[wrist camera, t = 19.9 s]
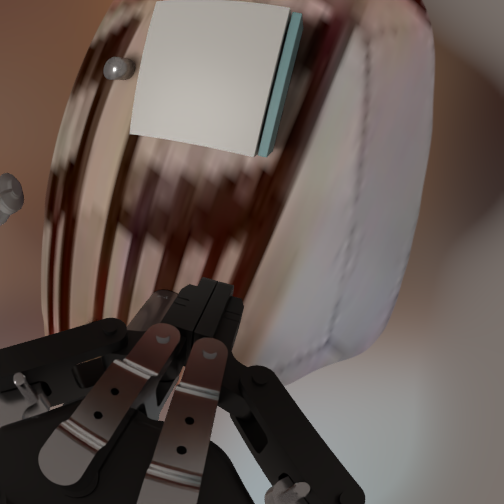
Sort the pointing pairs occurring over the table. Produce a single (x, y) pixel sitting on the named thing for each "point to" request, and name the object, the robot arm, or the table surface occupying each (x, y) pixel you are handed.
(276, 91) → the grey drawer
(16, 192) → the headphones
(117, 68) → the stand
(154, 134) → the housing
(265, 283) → the table surface
